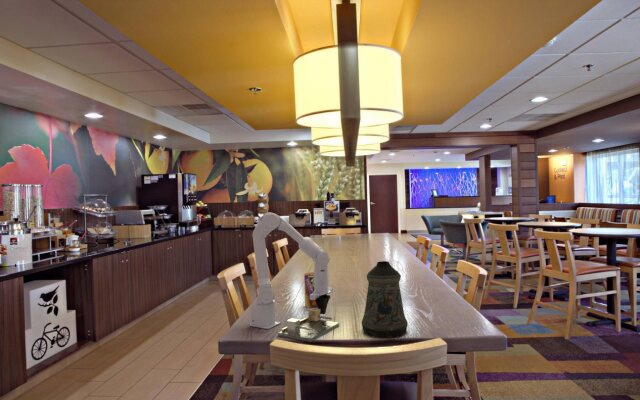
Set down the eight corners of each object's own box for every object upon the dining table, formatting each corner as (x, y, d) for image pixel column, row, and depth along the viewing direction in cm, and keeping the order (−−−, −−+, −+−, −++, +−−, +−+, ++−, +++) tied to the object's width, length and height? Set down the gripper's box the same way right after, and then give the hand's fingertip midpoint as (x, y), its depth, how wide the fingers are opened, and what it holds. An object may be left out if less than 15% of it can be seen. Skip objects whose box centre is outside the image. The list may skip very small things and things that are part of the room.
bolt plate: (278, 335, 153) (277, 329, 153) (309, 320, 170) (308, 315, 170) (310, 342, 146) (310, 335, 146) (339, 325, 163) (339, 320, 163)
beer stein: (367, 340, 146) (364, 267, 145) (356, 323, 165) (354, 259, 165) (414, 337, 147) (411, 265, 147) (398, 320, 167) (396, 257, 166)
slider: (308, 320, 166) (308, 310, 166) (312, 318, 169) (312, 308, 169) (329, 323, 161) (329, 313, 161) (333, 321, 163) (333, 311, 163)
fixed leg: (287, 331, 154) (286, 320, 154) (292, 329, 157) (291, 318, 157) (309, 335, 149) (308, 324, 149) (314, 333, 152) (313, 321, 152)
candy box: (324, 304, 195) (323, 271, 195) (325, 306, 191) (324, 272, 191) (305, 305, 194) (303, 272, 194) (305, 308, 190) (304, 273, 190)
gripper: (320, 284, 163) (321, 319, 163) (338, 277, 175) (339, 310, 175) (304, 282, 167) (306, 317, 167) (324, 276, 179) (325, 308, 179)
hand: (322, 313), depth 171 cm, fingers closed
